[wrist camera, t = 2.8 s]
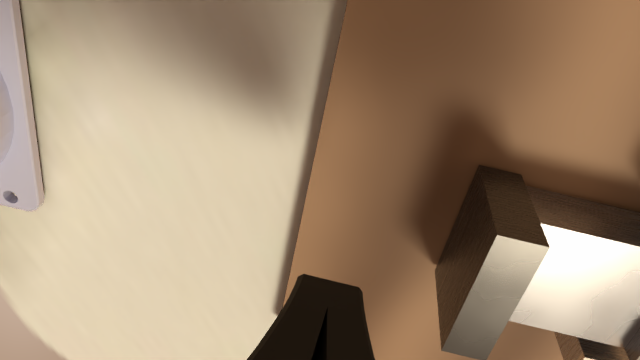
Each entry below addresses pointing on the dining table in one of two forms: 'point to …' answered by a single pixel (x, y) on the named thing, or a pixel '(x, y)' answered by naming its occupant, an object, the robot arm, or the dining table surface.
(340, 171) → the walnut board
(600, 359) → the gauge body
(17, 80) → the robot arm
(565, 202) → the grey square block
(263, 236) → the dining table surface
